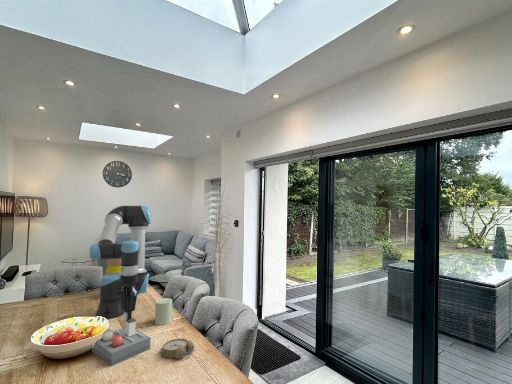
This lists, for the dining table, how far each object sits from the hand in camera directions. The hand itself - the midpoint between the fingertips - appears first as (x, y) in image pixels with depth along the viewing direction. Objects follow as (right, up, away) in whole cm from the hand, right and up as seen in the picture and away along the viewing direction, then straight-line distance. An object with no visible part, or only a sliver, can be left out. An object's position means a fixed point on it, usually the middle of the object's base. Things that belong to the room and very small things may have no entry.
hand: (127, 325), depth 128 cm
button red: (0, -4, -10) cm, 11 cm away
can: (+8, -10, +25) cm, 29 cm away
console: (-1, -9, -5) cm, 10 cm away
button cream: (-6, -4, -5) cm, 9 cm away
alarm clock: (+26, -9, -7) cm, 28 cm away
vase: (-40, -13, +72) cm, 83 cm away
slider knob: (+2, -4, -2) cm, 4 cm away
